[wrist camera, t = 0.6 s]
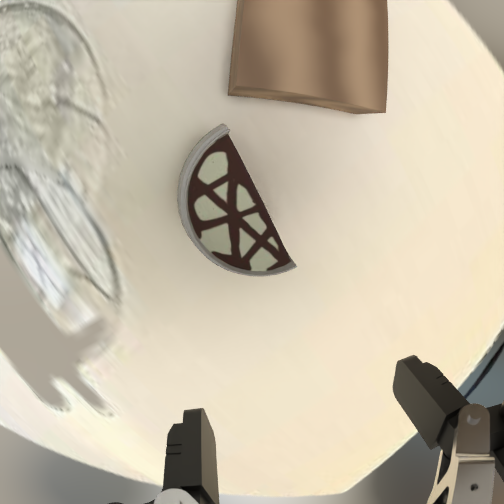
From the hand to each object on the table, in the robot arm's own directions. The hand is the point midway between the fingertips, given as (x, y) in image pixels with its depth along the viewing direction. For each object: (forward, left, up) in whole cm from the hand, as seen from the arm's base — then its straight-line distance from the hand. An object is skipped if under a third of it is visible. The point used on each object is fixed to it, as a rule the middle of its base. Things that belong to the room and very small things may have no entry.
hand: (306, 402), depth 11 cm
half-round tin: (-2, +4, -23) cm, 23 cm away
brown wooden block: (+6, +23, -23) cm, 33 cm away
